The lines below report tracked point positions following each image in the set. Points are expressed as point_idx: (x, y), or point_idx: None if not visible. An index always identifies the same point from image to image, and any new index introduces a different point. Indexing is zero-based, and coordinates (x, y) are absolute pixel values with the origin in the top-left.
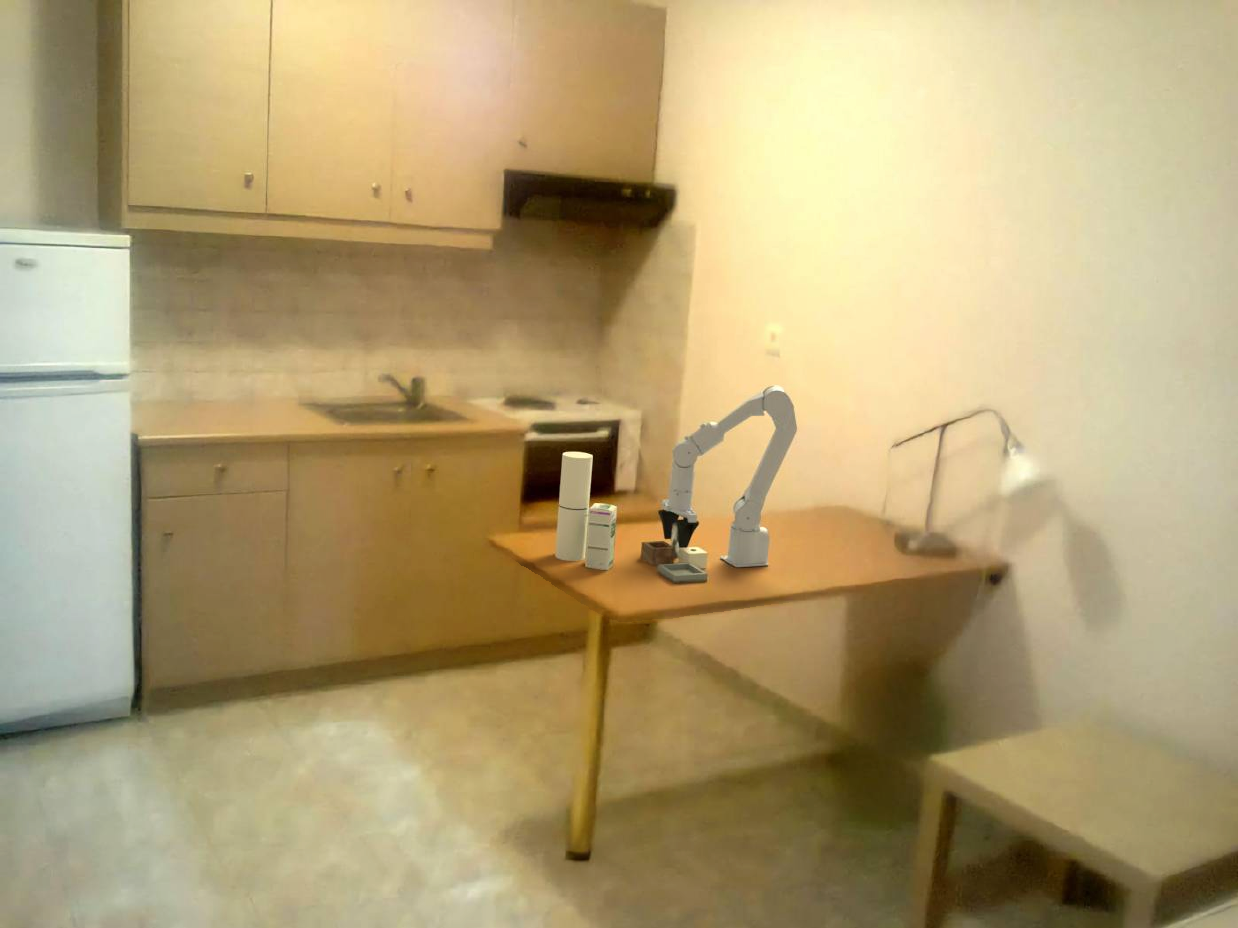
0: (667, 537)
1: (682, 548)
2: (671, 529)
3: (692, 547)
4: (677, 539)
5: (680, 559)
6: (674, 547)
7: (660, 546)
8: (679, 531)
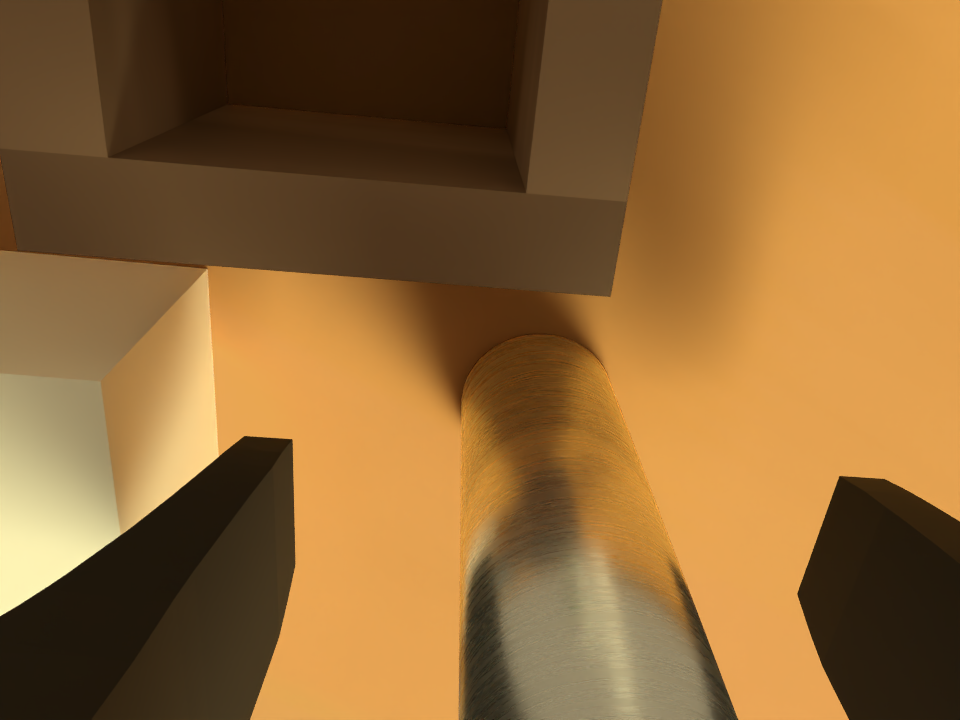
0: (842, 525)
1: (48, 409)
2: (908, 715)
3: None
4: (466, 561)
5: (115, 290)
6: (490, 432)
7: (519, 139)
8: (3, 662)
